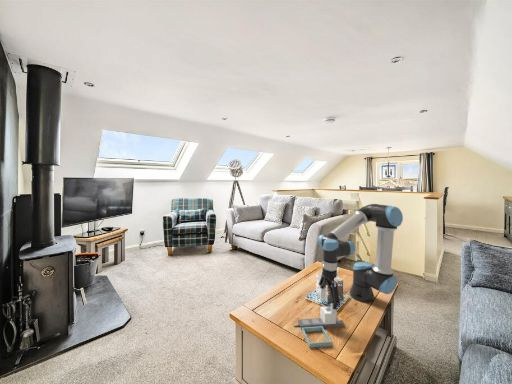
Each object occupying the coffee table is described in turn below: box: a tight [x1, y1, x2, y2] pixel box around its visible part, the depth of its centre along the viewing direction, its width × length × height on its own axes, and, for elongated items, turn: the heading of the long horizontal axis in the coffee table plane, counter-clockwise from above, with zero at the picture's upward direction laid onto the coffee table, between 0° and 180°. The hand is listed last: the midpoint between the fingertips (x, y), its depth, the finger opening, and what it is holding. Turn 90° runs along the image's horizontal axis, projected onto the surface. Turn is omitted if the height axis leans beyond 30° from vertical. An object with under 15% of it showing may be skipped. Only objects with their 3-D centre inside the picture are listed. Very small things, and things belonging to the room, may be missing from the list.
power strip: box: [293, 316, 345, 331], centre depth 121 cm, size 27×5×4 cm, turn 97°
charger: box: [319, 305, 337, 324], centre depth 121 cm, size 6×6×8 cm
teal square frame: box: [301, 326, 333, 349], centre depth 111 cm, size 11×11×3 cm
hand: (327, 306), depth 121 cm, fingers open, 13 cm apart
